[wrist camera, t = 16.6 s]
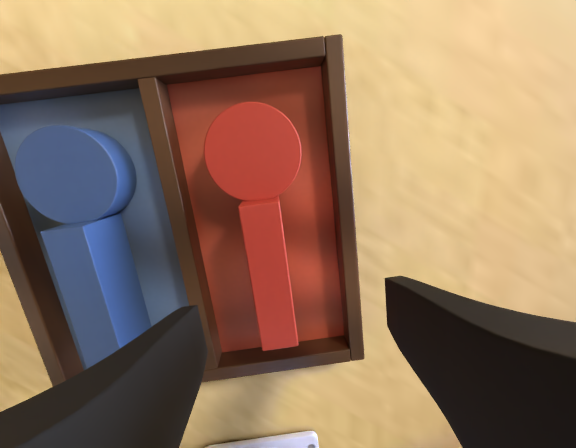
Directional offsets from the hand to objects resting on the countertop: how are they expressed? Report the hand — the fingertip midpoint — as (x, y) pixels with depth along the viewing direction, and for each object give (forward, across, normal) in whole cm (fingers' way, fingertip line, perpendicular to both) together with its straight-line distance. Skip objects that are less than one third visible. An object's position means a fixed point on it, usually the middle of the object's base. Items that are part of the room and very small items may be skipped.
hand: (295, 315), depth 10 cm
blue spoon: (+5, +9, -3) cm, 11 cm away
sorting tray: (+6, +5, -2) cm, 8 cm away
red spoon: (+5, +1, -3) cm, 6 cm away
